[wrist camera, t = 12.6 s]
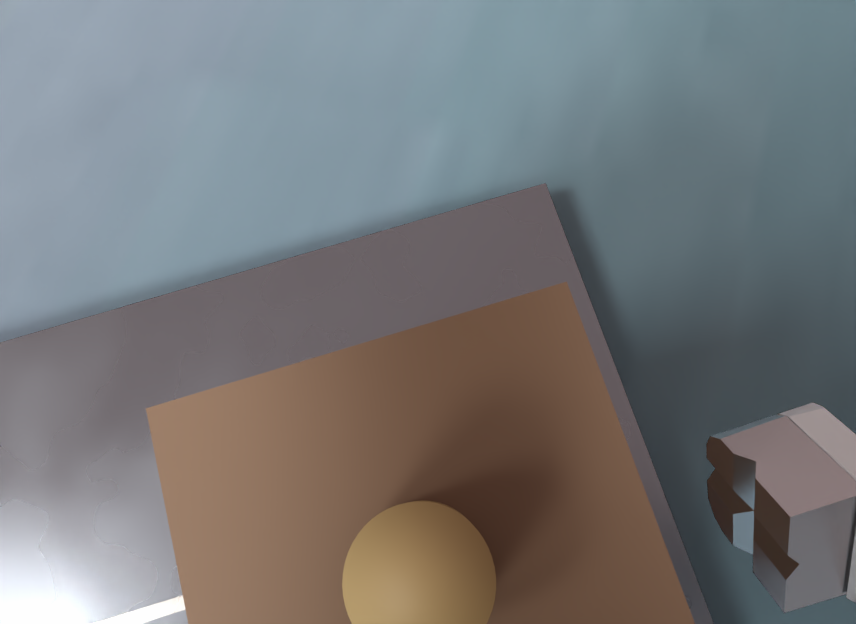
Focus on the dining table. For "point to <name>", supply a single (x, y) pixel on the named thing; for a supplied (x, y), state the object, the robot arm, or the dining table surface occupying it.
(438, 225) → the bolt plate
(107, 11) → the dining table surface
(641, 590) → the walnut peg
